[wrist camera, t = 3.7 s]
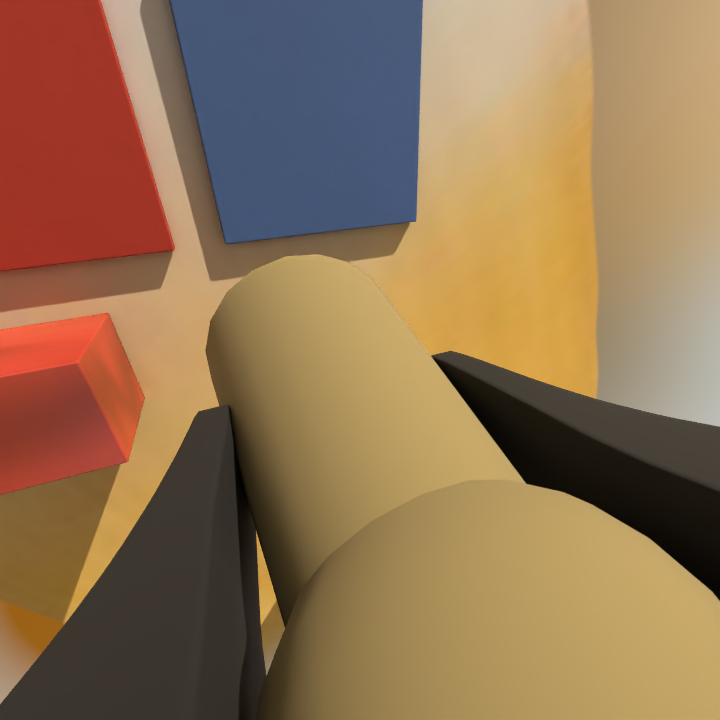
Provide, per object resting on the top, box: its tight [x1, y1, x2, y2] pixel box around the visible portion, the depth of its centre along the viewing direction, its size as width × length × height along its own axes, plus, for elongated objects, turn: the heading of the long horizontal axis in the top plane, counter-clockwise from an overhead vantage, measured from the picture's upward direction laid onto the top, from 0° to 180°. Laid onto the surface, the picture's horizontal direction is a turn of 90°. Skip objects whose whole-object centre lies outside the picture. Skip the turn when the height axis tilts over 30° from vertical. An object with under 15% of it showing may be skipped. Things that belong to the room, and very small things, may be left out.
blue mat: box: [169, 0, 423, 244], centre depth 14 cm, size 9×9×1 cm
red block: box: [0, 313, 145, 495], centre depth 14 cm, size 4×4×4 cm
